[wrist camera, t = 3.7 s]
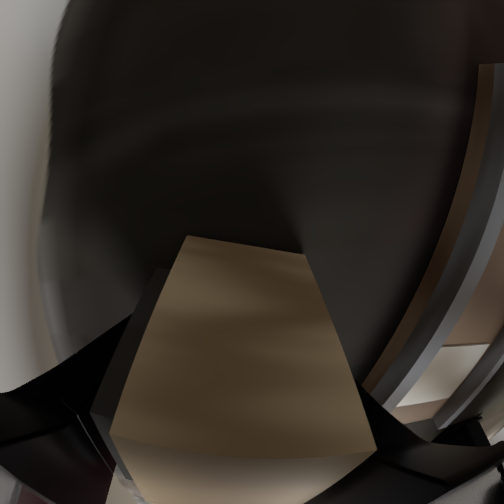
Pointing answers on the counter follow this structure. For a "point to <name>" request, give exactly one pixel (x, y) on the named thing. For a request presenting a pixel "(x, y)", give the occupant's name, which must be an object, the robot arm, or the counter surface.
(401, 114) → the counter surface
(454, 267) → the slider rail with block
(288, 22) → the counter surface
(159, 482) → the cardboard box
